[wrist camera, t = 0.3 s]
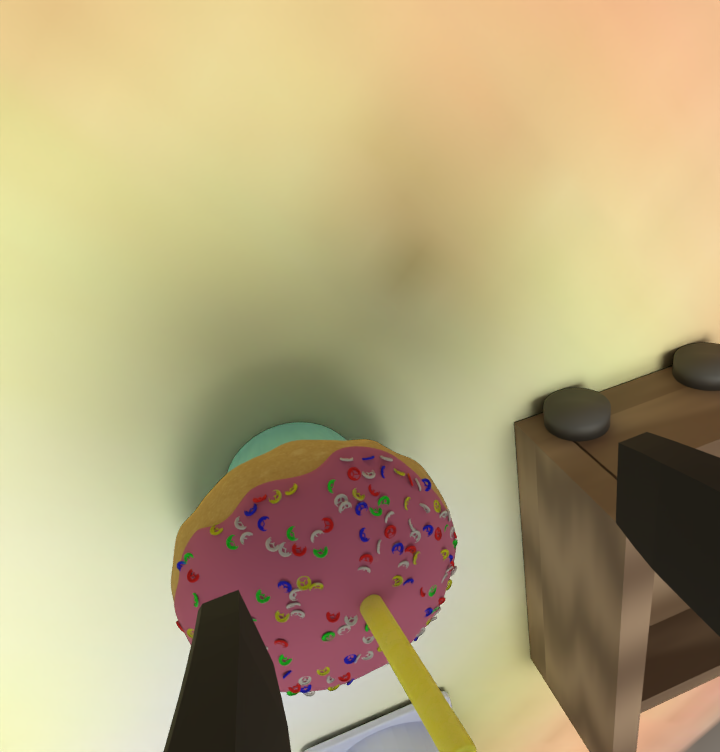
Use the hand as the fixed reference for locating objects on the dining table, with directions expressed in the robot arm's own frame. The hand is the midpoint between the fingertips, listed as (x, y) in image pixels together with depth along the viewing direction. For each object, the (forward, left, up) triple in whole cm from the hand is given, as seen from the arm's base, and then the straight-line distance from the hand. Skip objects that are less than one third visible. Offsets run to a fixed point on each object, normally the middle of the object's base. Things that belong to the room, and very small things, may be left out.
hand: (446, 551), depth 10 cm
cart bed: (-14, -12, -10) cm, 21 cm away
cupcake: (-5, +2, -10) cm, 12 cm away
